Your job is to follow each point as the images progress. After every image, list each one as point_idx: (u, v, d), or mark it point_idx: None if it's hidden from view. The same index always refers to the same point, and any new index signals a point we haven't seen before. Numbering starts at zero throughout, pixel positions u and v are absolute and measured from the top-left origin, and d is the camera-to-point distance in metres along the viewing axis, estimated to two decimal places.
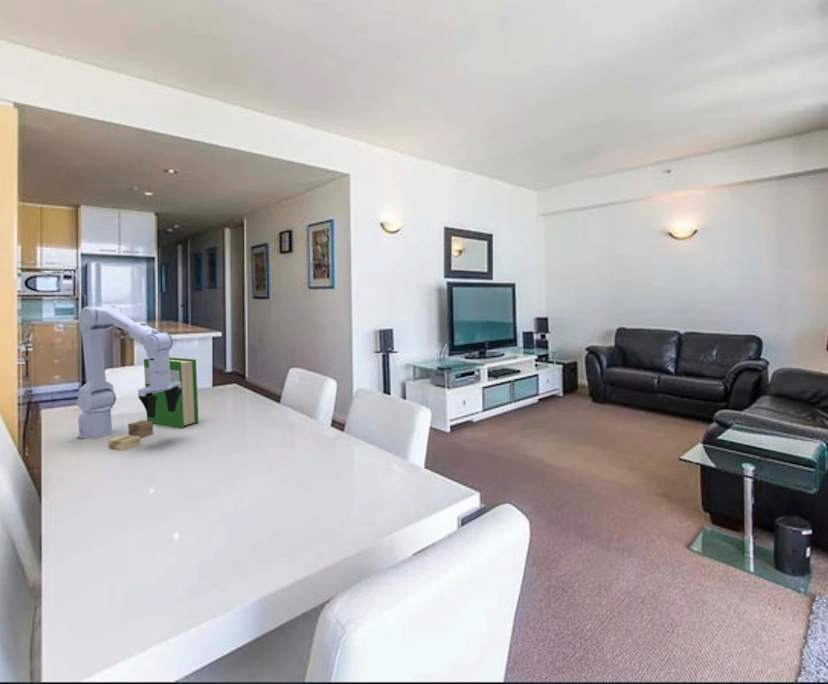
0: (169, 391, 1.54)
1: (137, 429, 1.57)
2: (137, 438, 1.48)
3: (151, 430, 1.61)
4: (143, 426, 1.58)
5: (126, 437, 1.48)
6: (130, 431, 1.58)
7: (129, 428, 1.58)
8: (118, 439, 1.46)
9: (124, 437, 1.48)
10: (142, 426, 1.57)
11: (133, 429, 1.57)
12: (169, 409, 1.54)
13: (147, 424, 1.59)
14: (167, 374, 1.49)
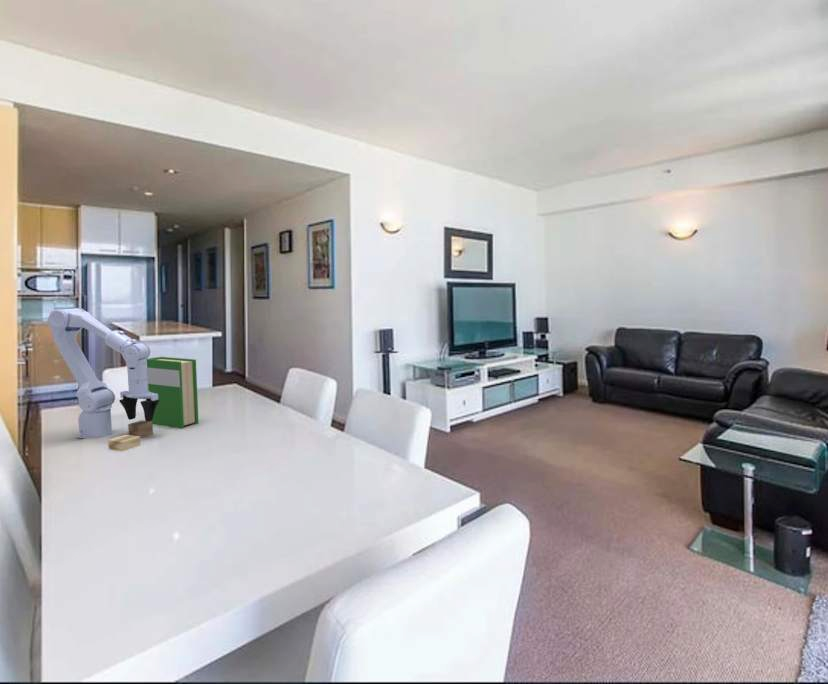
0: None
1: (137, 429, 1.57)
2: (137, 438, 1.48)
3: (151, 430, 1.61)
4: (143, 426, 1.58)
5: (126, 437, 1.48)
6: (130, 431, 1.58)
7: (129, 428, 1.58)
8: (118, 439, 1.46)
9: (124, 437, 1.48)
10: (142, 426, 1.57)
11: (133, 429, 1.57)
12: None
13: (147, 424, 1.59)
14: (131, 383, 1.55)
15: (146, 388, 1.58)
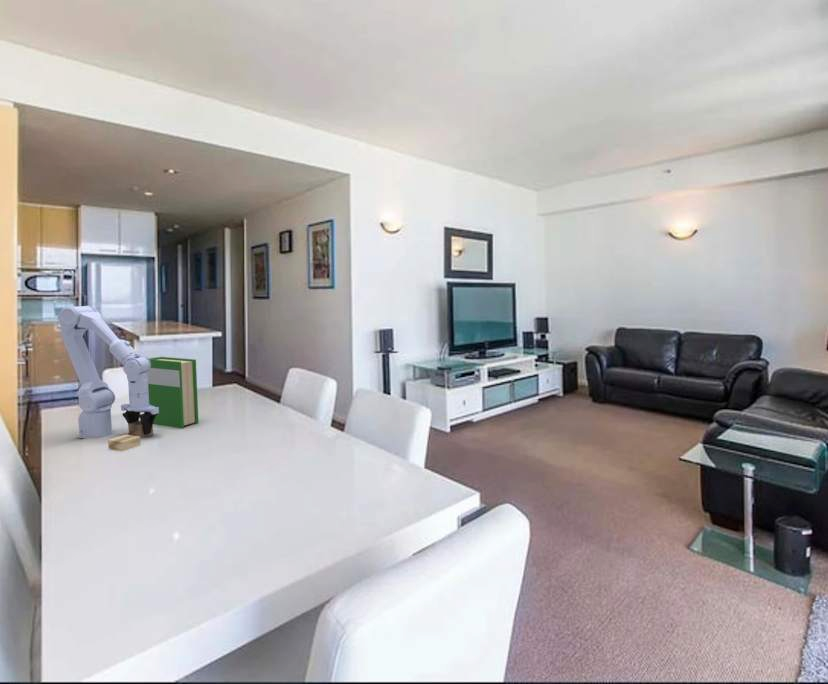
0: None
1: (137, 428, 1.57)
2: (137, 438, 1.48)
3: (151, 430, 1.61)
4: None
5: (126, 437, 1.48)
6: (130, 431, 1.58)
7: (129, 428, 1.58)
8: (118, 439, 1.46)
9: (124, 437, 1.48)
10: None
11: (133, 429, 1.57)
12: None
13: None
14: (132, 397, 1.56)
15: (147, 401, 1.58)
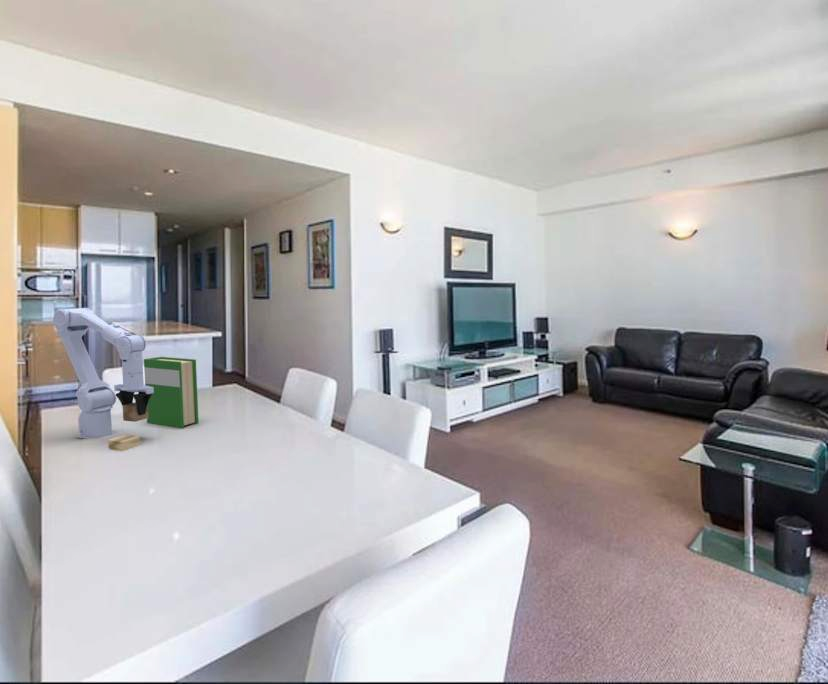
0: None
1: (131, 410, 1.52)
2: (137, 438, 1.48)
3: (146, 411, 1.56)
4: None
5: (126, 437, 1.48)
6: (124, 412, 1.53)
7: (123, 409, 1.53)
8: (118, 439, 1.46)
9: (124, 437, 1.48)
10: None
11: (127, 410, 1.53)
12: None
13: None
14: (125, 376, 1.51)
15: (141, 381, 1.54)
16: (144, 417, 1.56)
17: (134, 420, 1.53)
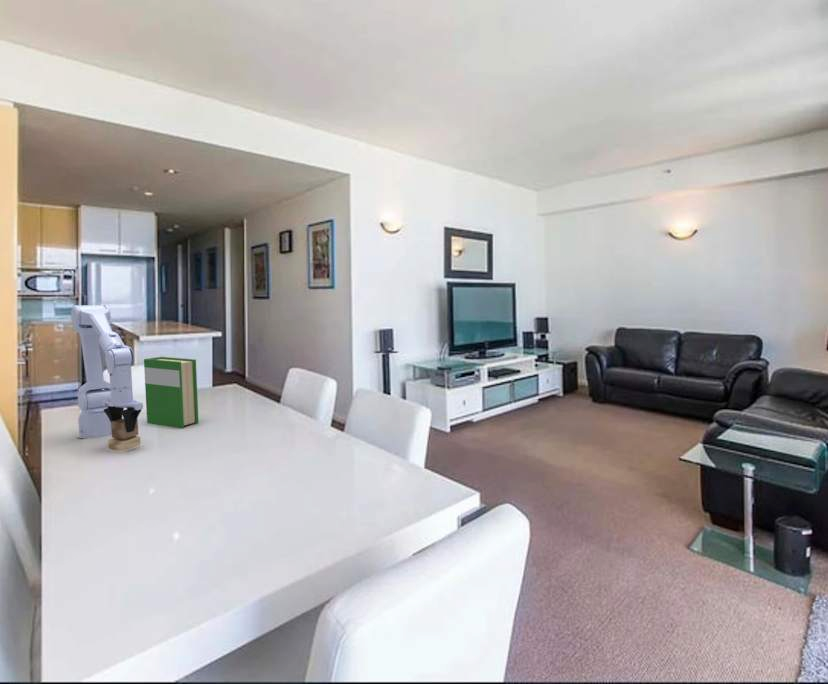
0: None
1: (120, 426, 1.44)
2: (137, 438, 1.48)
3: (136, 428, 1.48)
4: None
5: None
6: (113, 429, 1.46)
7: (112, 426, 1.46)
8: (118, 439, 1.46)
9: None
10: None
11: (116, 427, 1.45)
12: None
13: None
14: (113, 391, 1.43)
15: (130, 396, 1.46)
16: (134, 434, 1.48)
17: (123, 437, 1.45)
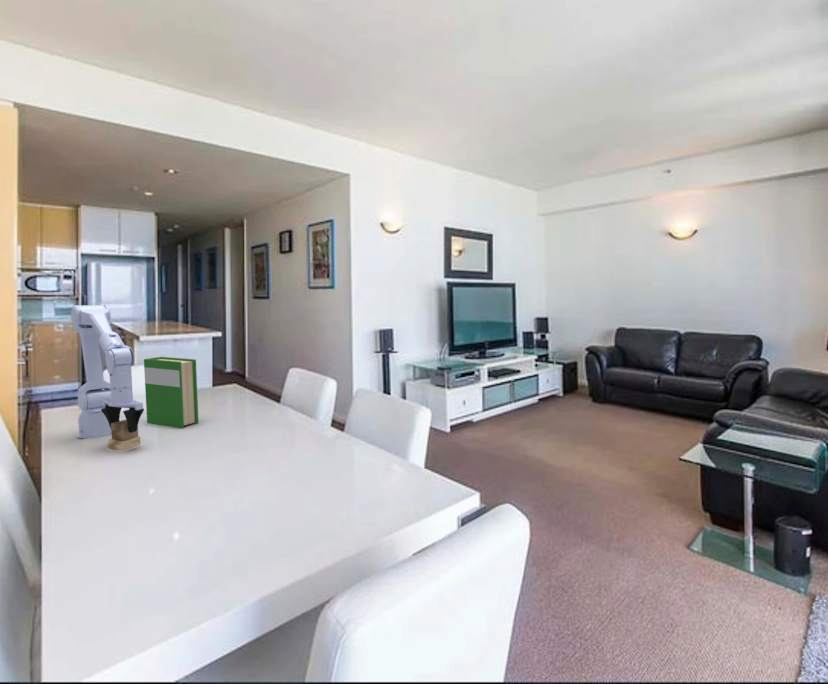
0: None
1: (120, 428, 1.44)
2: (137, 438, 1.48)
3: None
4: (127, 425, 1.45)
5: None
6: (113, 431, 1.46)
7: (112, 428, 1.46)
8: None
9: None
10: (126, 425, 1.45)
11: (116, 429, 1.45)
12: None
13: None
14: (113, 391, 1.43)
15: (130, 396, 1.46)
16: (134, 436, 1.48)
17: (123, 439, 1.45)
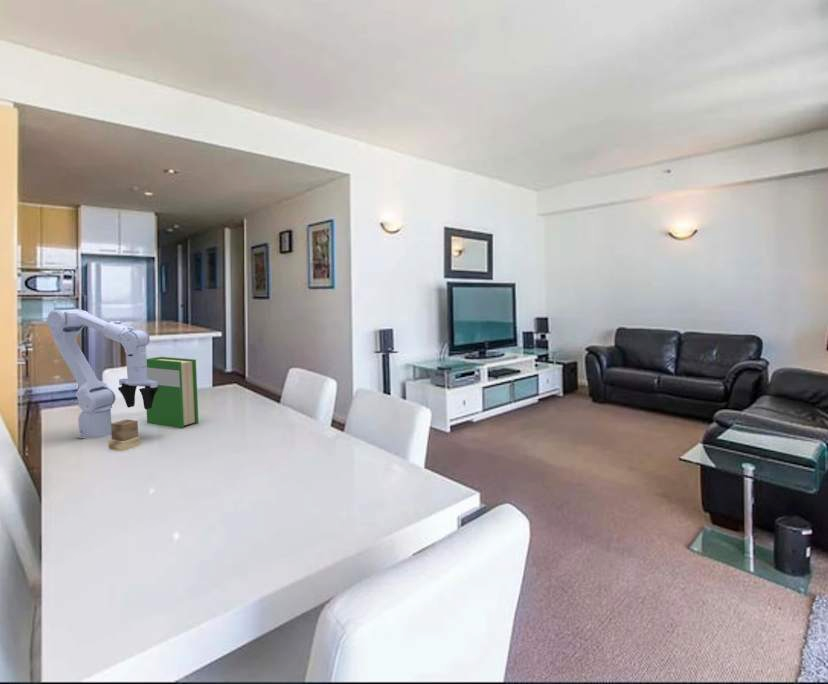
0: None
1: (120, 428, 1.44)
2: (137, 438, 1.48)
3: (136, 430, 1.48)
4: (127, 425, 1.45)
5: None
6: (113, 431, 1.46)
7: (112, 428, 1.46)
8: None
9: None
10: (126, 425, 1.45)
11: (116, 429, 1.45)
12: None
13: (131, 423, 1.47)
14: (130, 370, 1.54)
15: (145, 375, 1.56)
16: (134, 436, 1.48)
17: (123, 439, 1.45)
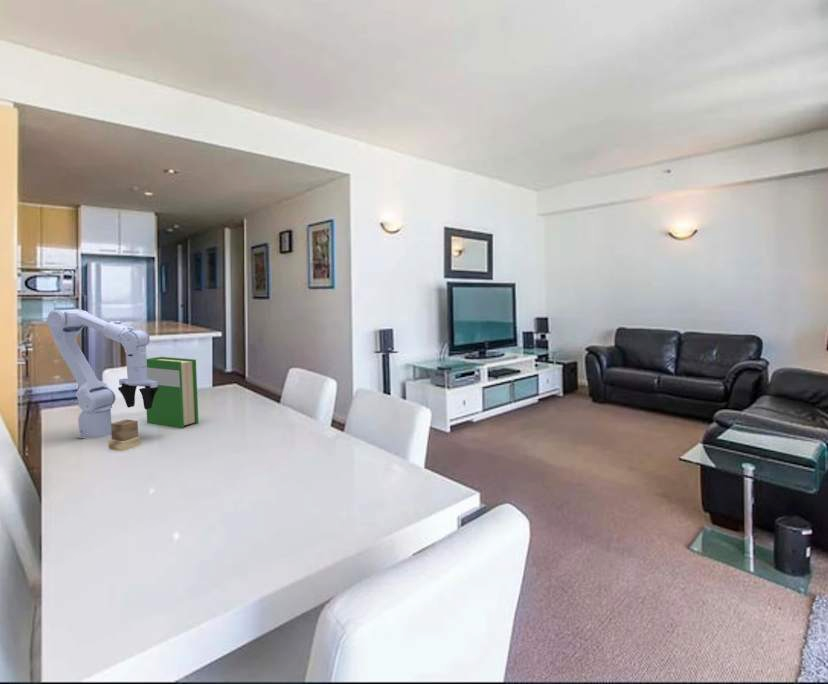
0: None
1: (120, 428, 1.44)
2: (137, 438, 1.48)
3: (136, 430, 1.48)
4: (127, 425, 1.45)
5: None
6: (113, 431, 1.46)
7: (112, 428, 1.46)
8: None
9: None
10: (126, 425, 1.45)
11: (116, 429, 1.45)
12: None
13: (131, 423, 1.47)
14: (130, 370, 1.54)
15: (145, 375, 1.56)
16: (134, 436, 1.48)
17: (123, 439, 1.45)
